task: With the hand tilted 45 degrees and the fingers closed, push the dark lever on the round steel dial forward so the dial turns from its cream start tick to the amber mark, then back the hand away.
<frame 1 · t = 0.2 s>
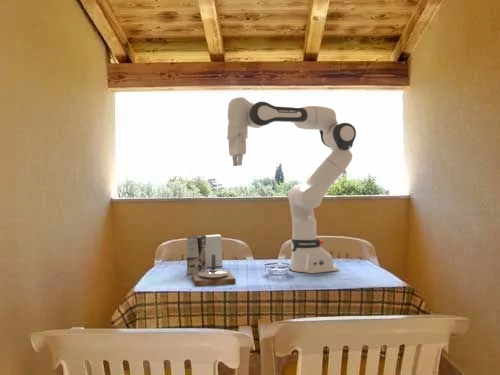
hand: (237, 165, 199), 48 cm above the table, tool pointing down, fingers open, 8 cm apart
skincare box: (213, 266, 216), on the table
dial board: (213, 280, 186), on the table
coffee box: (196, 272, 203), on the table
dial: (213, 265, 185), point 6 cm above the table, hinge at 0.0°
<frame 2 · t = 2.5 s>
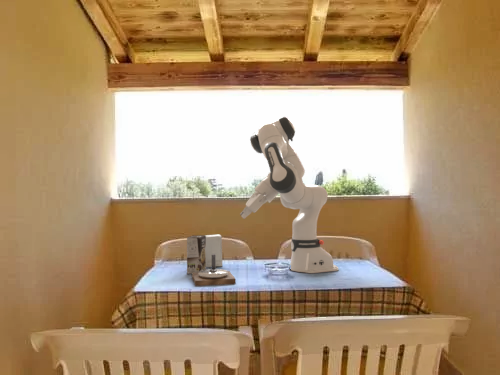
hand: (241, 216, 187), 26 cm above the table, tool tilted 45°, fingers open, 8 cm apart
nothing on the table moved.
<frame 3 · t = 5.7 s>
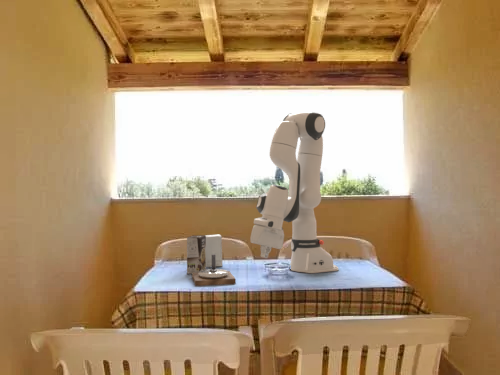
hand: (263, 257, 181), 10 cm above the table, tool tilted 15°, fingers closed
nothing on the table moved.
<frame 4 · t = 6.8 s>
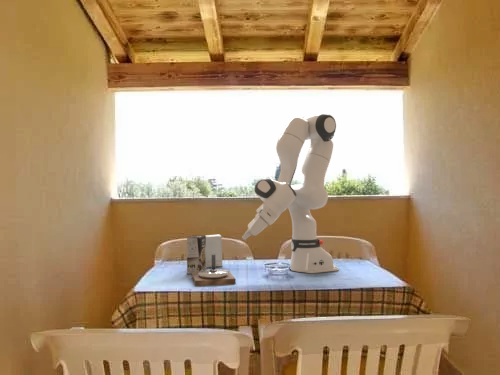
hand: (243, 238, 189), 17 cm above the table, tool tilted 45°, fingers closed
nothing on the table moved.
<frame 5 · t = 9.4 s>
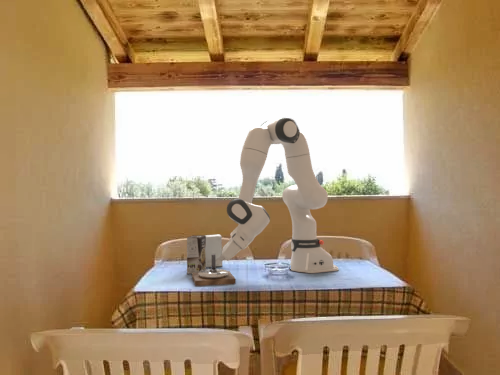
hand: (216, 262, 188), 7 cm above the table, tool tilted 45°, fingers closed, pressing on dial
dial: (213, 265, 185), point 6 cm above the table, hinge at 0.2°, touching gripper
everything else where it was.
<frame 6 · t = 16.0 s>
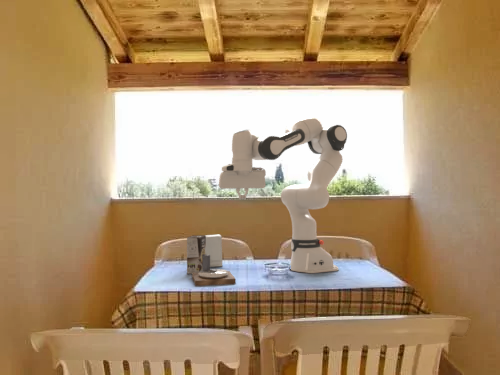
hand: (242, 199, 195), 33 cm above the table, tool pointing down, fingers closed
dial: (213, 265, 185), point 6 cm above the table, hinge at 44.9°
everything else where it was.
at the end: dial at +45° (first picture: +0°) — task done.
